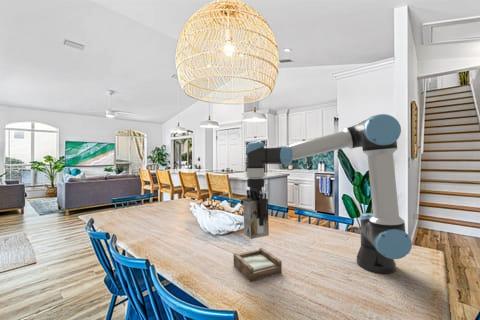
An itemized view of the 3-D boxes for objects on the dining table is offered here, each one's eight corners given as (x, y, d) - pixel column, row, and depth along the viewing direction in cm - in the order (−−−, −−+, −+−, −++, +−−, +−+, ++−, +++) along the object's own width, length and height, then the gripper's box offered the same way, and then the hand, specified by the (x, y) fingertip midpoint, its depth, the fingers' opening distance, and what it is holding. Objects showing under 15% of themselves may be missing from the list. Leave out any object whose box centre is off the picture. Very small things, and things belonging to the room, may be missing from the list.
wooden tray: (281, 273, 98) (281, 261, 98) (250, 281, 91) (250, 268, 91) (262, 258, 112) (261, 247, 112) (233, 265, 106) (233, 253, 106)
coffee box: (261, 231, 106) (260, 196, 106) (269, 235, 101) (268, 198, 101) (243, 234, 102) (243, 198, 102) (250, 239, 97) (250, 201, 96)
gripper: (275, 179, 94) (276, 235, 94) (252, 175, 112) (253, 223, 112) (259, 180, 91) (260, 238, 91) (238, 176, 108) (238, 225, 109)
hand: (256, 230), depth 101 cm, fingers closed on coffee box, 6 cm apart
